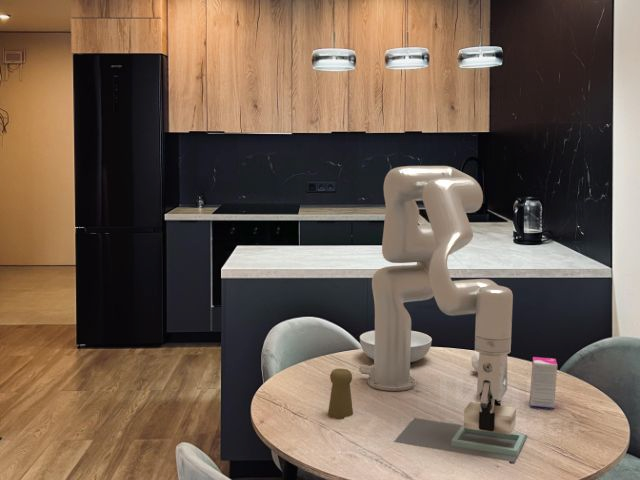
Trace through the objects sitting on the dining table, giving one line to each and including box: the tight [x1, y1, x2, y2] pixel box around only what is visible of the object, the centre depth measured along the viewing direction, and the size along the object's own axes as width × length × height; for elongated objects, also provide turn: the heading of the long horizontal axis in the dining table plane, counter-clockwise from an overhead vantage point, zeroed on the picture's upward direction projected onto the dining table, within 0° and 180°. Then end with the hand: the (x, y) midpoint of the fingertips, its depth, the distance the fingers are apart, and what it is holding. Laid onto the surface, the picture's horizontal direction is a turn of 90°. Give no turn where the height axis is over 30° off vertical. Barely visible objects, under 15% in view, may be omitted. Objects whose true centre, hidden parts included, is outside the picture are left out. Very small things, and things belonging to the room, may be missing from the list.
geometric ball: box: [471, 350, 479, 374], centre depth 234 cm, size 8×8×8 cm
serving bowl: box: [359, 330, 433, 363], centre depth 247 cm, size 21×21×7 cm
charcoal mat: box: [393, 417, 528, 464], centre depth 187 cm, size 26×16×1 cm, turn 68°
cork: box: [327, 368, 354, 420], centre depth 201 cm, size 6×6×11 cm
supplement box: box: [529, 356, 558, 410], centre depth 210 cm, size 6×6×12 cm
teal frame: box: [451, 424, 526, 456], centre depth 185 cm, size 14×10×1 cm
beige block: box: [463, 401, 517, 435], centre depth 184 cm, size 10×6×4 cm, turn 67°
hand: (489, 424), depth 184 cm, fingers closed on beige block, 6 cm apart
